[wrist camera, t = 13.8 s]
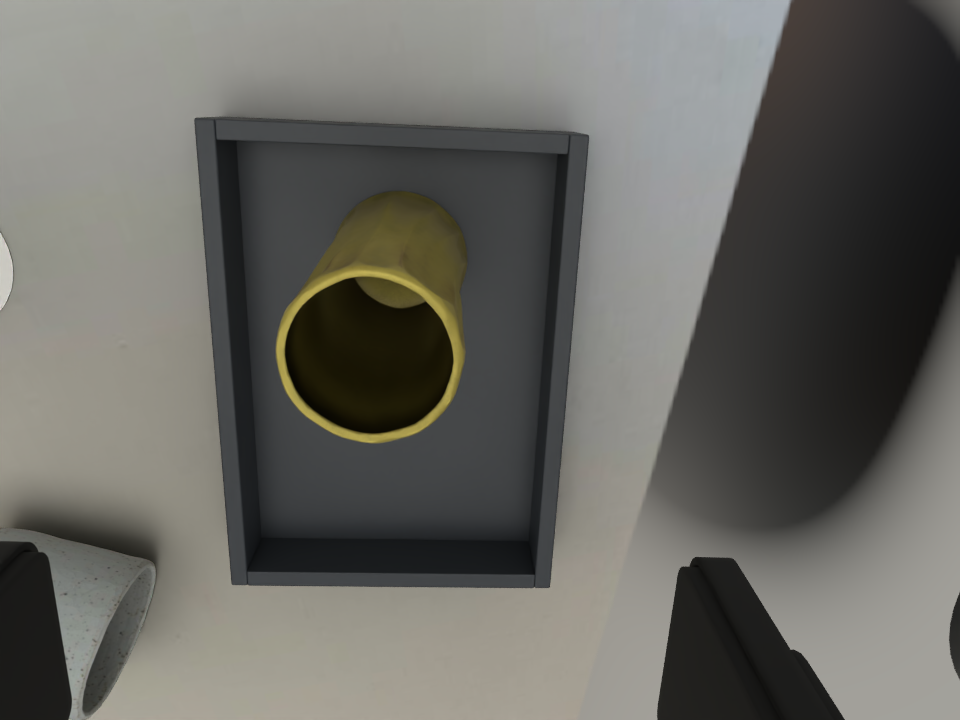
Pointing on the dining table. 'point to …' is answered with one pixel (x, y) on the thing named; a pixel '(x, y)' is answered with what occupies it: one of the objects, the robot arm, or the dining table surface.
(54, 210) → the dining table surface
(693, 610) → the robot arm
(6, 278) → the champagne flute
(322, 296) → the vase
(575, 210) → the tray
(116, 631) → the ceramic mug
